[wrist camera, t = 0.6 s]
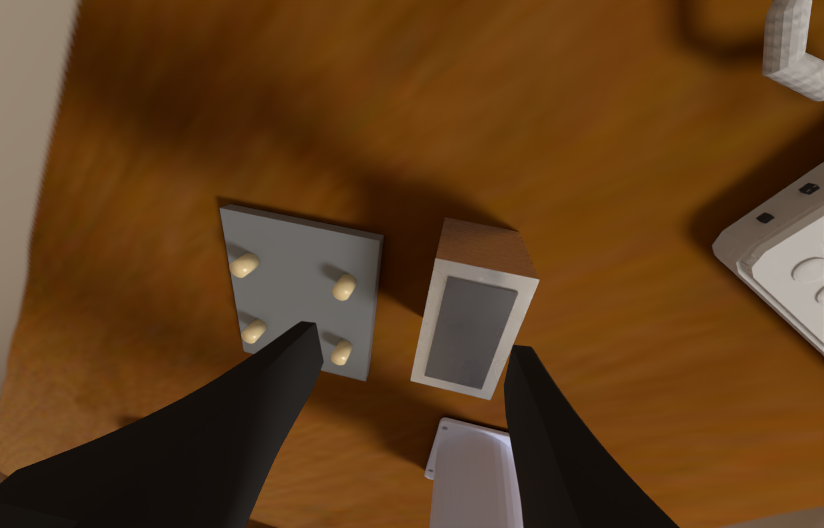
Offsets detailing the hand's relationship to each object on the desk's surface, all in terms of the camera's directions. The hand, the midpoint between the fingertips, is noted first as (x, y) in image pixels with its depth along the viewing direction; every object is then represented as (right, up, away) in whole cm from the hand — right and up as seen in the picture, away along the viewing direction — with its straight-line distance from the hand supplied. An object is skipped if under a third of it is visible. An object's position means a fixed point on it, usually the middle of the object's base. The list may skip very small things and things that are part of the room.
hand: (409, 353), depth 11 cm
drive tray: (-8, +1, +12) cm, 15 cm away
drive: (+4, +2, +9) cm, 10 cm away
